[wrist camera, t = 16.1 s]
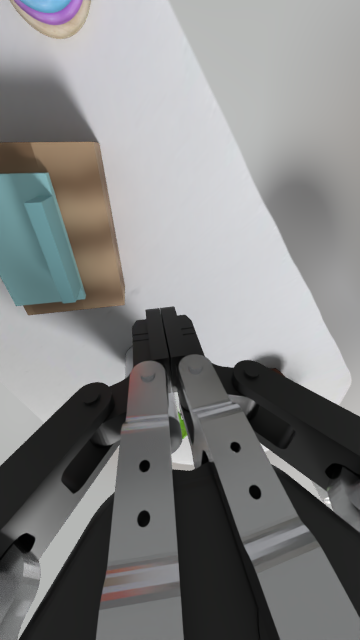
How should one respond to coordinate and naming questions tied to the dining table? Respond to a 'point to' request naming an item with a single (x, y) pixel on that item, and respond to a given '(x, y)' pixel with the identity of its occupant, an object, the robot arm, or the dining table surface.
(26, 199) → the sliding lid
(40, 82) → the dining table surface
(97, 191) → the wooden box
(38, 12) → the stacking toy
